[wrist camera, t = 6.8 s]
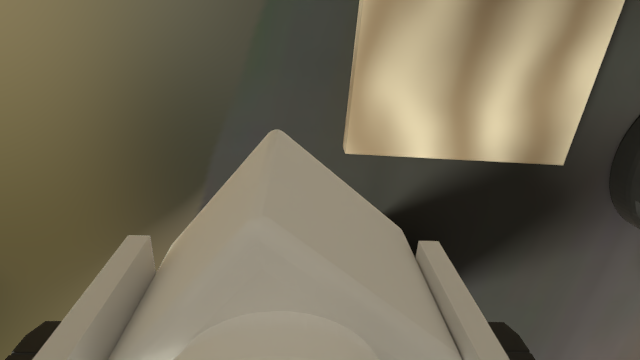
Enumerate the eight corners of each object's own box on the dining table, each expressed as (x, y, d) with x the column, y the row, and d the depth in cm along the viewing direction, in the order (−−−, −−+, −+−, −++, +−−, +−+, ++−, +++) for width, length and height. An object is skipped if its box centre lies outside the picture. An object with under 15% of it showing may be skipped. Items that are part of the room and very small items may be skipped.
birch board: (643, -97, 25) (663, -103, 23) (551, 158, 32) (562, 165, 31) (374, -132, 23) (379, -141, 22) (342, 147, 30) (345, 153, 29)
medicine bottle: (297, 325, 18) (291, 796, 7) (169, 245, 16) (-112, 743, 5) (404, 228, 16) (617, 673, 5) (275, 122, 14) (189, 503, 3)
